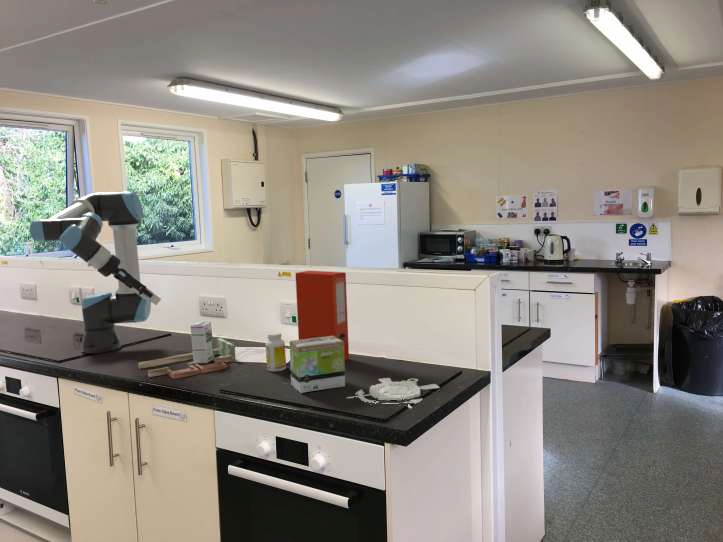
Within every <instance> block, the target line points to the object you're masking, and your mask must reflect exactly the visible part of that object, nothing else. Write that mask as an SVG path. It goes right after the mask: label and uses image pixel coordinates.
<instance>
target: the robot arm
mask: <svg viewBox="0 0 723 542" xmlns="http://www.w3.org/2000/svg"><path fill="white" fill-rule="evenodd" d="M143 210H144V209H143V205H142V203H141V199H140V197H139V195H138V194H137V193H136V192H134V191H127V190H126V191H124V190H123V191H105V192H104V191H103V192H100V191H99V192H94V193H89V194H87V195H84V196H82V197H80V198H77V199H75V200H74V201H72V202H71V203H70V205H69V206H68V207H66V208H65V209H63V210H61V211H59V212H57V213H55V214H54V215H52V216H50V217H49V218H46V219H41V218H40V219H34V220H32V221H31V222H30V225H29V233H30V237H31V239H32V240H33V241H34V242H40V243H41V242H44V243H47V242H60V243H61V244H62V245H63V246H64V247H65V248H66V249H67V250H69V251H70V252H72V253H73V254H75V255H76V256H78V258H80V259H82V260H83V261H84V262H85V263H86V264H87V267H91V268H93V269H94V270H97V272H98V273H100V274H101V275H102V276H103V277H105V278H106V277H107V278H108V277H109V276H111V275H112V276H113V278H115V279H116V280H117V284H118V288H117V289H116V290H115V295H113V293H112V292H111V291H109V292H108V291H107V292H100V293H95V294H92V295H88V296H85V297H83V298H82V300H81V311H82V321H83V329H84V334H83V338H82V342H81V346H80V347H81V352H82V353H83V352H84V353H83V354H103V353H108V352H112V351H116V350H118V349H120V348H121V347H122V343H121V340H120V337H119V335H118V333H117V331H116V327H115V324H130V323H131V324H132V323H134V324H135V323H142V322H143V323H144V322H146V321H147V320H148V318H149V316H150V314H151V310H152V303H153V304H154V305H155V306H157V305H158V304H159V303H160V301H162V298H161V297H159V296H158V295H157V294H155V293H154V292H153V291H152V290H150V289H149V288H148V287H147V286H146V285H144V284H143V283H141V275H140V274H141V273H140V265H139V264H140V263H139V251H138V243H137V232H136V229H137V228H138V225H140V222H139V221H140V220H142V219H143V216H144V215H143V214H144V212H143ZM104 222H107V223H108V224H107V225H108V226H107V227H109V228H110V229H112V233H113V235H112V236H113V243H114V244H113V245H114V252H115V254H112V252H111V251H110V250H109V249H107V248H106V247H105V246H104V245H102V244H101V243H99V242H98V241H97V238H98V237H99V235H100V234H101V231H102V228H103V226H104V225H103V224H104Z"/></svg>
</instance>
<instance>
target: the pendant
mask: <svg viewBox="0 0 723 542" xmlns="http://www.w3.org/2000/svg"><path fill="white" fill-rule="evenodd" d="M418 381H419V379H418V378H408V379H407V380H401V381H392V379H391V377H386V378H385V377H382V378H378V382H380V383H377V384H375V385H373V384H371V386H369V392H368V394H365V392H364V391H363V389H360V390H358V391H356V392H355V394H354V395H355V396H354V395H353V396H348V397H346V399H347V398H348V399H354V397H356V398H359V400H361V401H362V402H363V401H364V403H366V402H369V403H371V402H372V403H375V404H376V403H378V402H379V401H376V400H385V401H390V400H397V401H402V399H403V400H404V399H406V400H409V401H406V402H403V403H410V404H417V403H418V404H419V403H420V402H421V401H422V400H423V398H418V397H420V396H421V390H431V389H440V386H439V385H438V384H436V383H432V384H426V385H421V386H419V385H418V384H417V383H418ZM366 396H367V397H368V396H371V397H372V398H374V399H376V398H377V399H376V400H371V399H367V398H365V397H366ZM414 398H417V399H414ZM374 401H376V402H374ZM369 403H368V404H369ZM399 403H400V402H397V403H396V402H386V403H382V404H399ZM410 404H408V406H407V407H408V409H413V407H412V406H411V405H410Z"/></svg>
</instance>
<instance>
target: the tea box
mask: <svg viewBox="0 0 723 542" xmlns="http://www.w3.org/2000/svg"><path fill="white" fill-rule="evenodd" d="M289 359H290V360H289V363H290V365H289V366H290V367H289V368H290V385H291V386H292V387H293V388H294V389H295V390H296V391H297V390H298V391H299V392H300V393H299V392H298V391H297V392H298V393H299V394H303V393H307V392H314V391H321V390H326V389H327V390H328V389H334V388H335V389H337V388H343V387H346V365H345V363H346V360H345V358H344V342H343V341H342V340H340V339H338V338H336V337H335V336H326V337H318V338H310V339H302V340H299V339H296V340H290V341H289Z"/></svg>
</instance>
